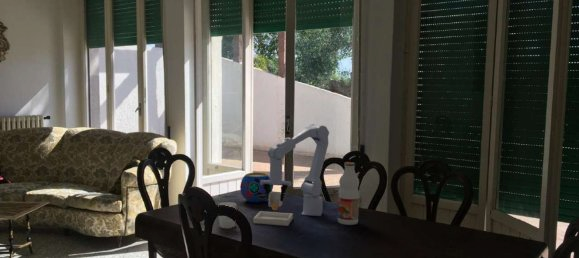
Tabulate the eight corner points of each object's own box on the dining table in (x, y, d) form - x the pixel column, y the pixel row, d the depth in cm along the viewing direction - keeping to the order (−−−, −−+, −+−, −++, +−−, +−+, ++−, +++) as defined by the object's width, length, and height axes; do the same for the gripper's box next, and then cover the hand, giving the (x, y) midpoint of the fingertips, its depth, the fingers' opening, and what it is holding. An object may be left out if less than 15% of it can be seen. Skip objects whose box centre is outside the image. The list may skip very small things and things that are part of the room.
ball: (277, 205, 213) (278, 210, 214) (277, 201, 215) (278, 207, 216) (270, 206, 213) (272, 211, 214) (270, 203, 216) (272, 208, 217)
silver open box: (282, 204, 221) (282, 192, 221) (280, 207, 216) (280, 194, 215) (270, 203, 222) (271, 191, 222) (268, 206, 217) (268, 193, 216)
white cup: (237, 224, 209) (238, 202, 209) (234, 229, 202) (234, 206, 201) (220, 223, 210) (221, 201, 209) (216, 228, 202) (216, 205, 202)
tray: (292, 218, 220) (292, 213, 220) (288, 225, 209) (288, 220, 208) (259, 216, 223) (259, 211, 223) (253, 223, 211) (253, 217, 211)
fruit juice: (360, 225, 213) (363, 164, 210) (341, 225, 211) (343, 164, 209) (354, 219, 222) (356, 161, 220) (335, 219, 220) (337, 161, 218)
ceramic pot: (248, 207, 241) (248, 178, 240) (235, 199, 256) (235, 172, 255) (278, 203, 249) (278, 176, 248) (263, 196, 265) (264, 170, 264)
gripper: (258, 172, 215) (258, 201, 216) (289, 174, 212) (289, 203, 213) (262, 169, 222) (261, 197, 223) (292, 171, 219) (291, 199, 220)
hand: (275, 200), depth 219 cm, fingers closed on silver open box, 6 cm apart
